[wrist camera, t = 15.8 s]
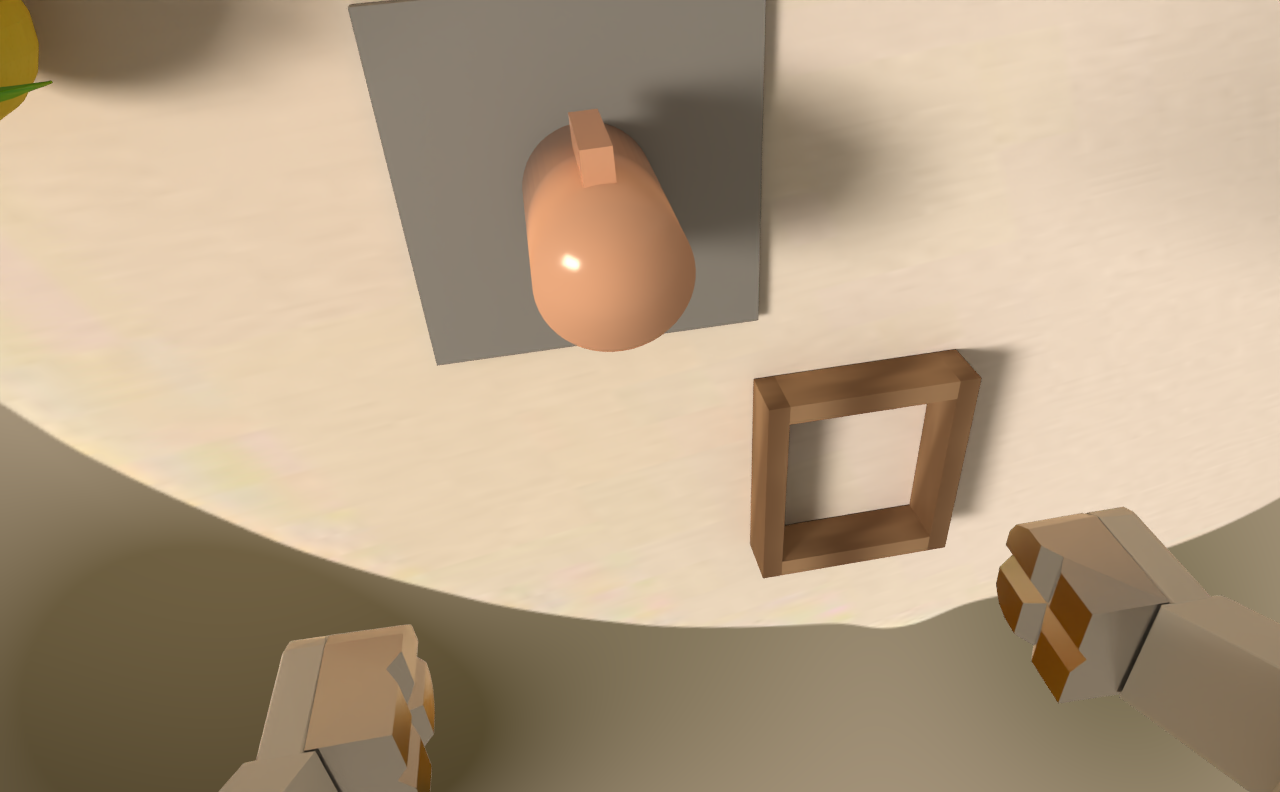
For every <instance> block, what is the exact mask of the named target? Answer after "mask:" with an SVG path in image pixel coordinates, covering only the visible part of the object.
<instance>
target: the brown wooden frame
mask: <svg viewBox="0 0 1280 792" xmlns="http://www.w3.org/2000/svg"><path fill="white" fill-rule="evenodd" d="M981 379H982V378H981V377H980V376H979V375H978V374H977V372H976V371H975V370H974V369H973V368H972V367H971V366H970V365H969V363H968V362H967V361H966V360H965V359H964V358H963V357H962V356H961V354H960V353H959V352H958V351H957V350H956V349H955V350H948V351H941V352H935V353H928V354H921V355H914V356H908V357H901V358H894V359H887V360H880V361H874V362H867V363H860V364H853V365H847V366H840V367H833V368H826V369H820V370H813V371H806V372H799V373H792V374H786V375H779V376H772V377H765V378H759V379H754V387H753V435H752V483H751V531H750V545H751V547H752V550H753V553H754V555H755V558H756V561H757V563H758V566H759V569H760V571H761V574H762V577H763V578H768V577H774V576H779V575H785V574H791V573H797V572H803V571H809V570H815V569H820V568H826V567H832V566H838V565H844V564H850V563H855V562H861V561H867V560H873V559H879V558H885V557H890V556H896V555H902V554H908V553H914V552H920V551H926V550H931V549H937V548H943V547H945V544H946V540H947V535H948V530H949V526H950V521H951V517H952V512H953V507H954V503H955V498H956V494H957V489H958V484H959V480H960V475H961V471H962V466H963V461H964V457H965V452H966V448H967V443H968V438H969V434H970V429H971V425H972V420H973V415H974V411H975V406H976V402H977V397H978V392H979V388H980V383H981ZM922 404H927V408H926V413H925V419H924V425H923V430H922V436H921V442H920V448H919V453H918V459H917V465H916V471H915V476H914V482H913V488H912V494H911V499H910V505H905V506H899V507H893V508H887V509H881V510H875V511H869V512H863V513H857V514H851V515H845V516H839V517H833V518H827V519H821V520H815V521H808V522H802V523H796V524H790V525H784V522H785V503H786V485H787V466H788V448H789V429H790V425H791V424H798V423H804V422H811V421H817V420H824V419H830V418H837V417H843V416H850V415H857V414H863V413H870V412H876V411H883V410H889V409H896V408H902V407H909V406H915V405H922Z"/></svg>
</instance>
